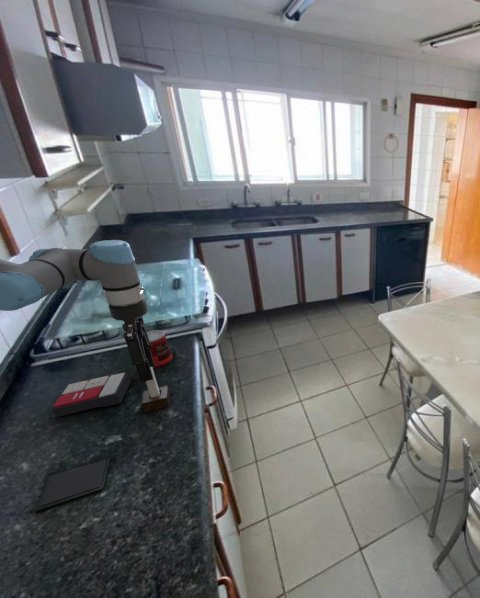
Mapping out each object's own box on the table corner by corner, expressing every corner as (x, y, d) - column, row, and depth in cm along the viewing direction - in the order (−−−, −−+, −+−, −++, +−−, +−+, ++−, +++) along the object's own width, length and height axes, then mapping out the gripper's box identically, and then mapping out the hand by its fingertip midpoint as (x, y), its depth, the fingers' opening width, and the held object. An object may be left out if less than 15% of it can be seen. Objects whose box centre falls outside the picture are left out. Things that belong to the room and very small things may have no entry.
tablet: (35, 513, 69) (34, 510, 69) (50, 478, 76) (48, 475, 76) (103, 491, 74) (102, 488, 74) (111, 460, 81) (109, 457, 81)
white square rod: (153, 407, 98) (142, 372, 92) (154, 403, 99) (143, 368, 94) (162, 405, 99) (151, 370, 93) (162, 401, 100) (152, 366, 95)
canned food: (148, 358, 118) (138, 332, 113) (174, 353, 122) (165, 327, 117) (144, 370, 112) (133, 344, 107) (172, 364, 116) (162, 338, 111)
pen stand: (144, 414, 95) (141, 403, 93) (147, 401, 100) (143, 390, 98) (169, 407, 98) (166, 397, 96) (170, 395, 103) (167, 385, 101)
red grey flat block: (67, 383, 99) (126, 370, 104) (73, 394, 101) (131, 380, 106) (48, 408, 90) (114, 392, 95) (56, 419, 92) (120, 403, 97)
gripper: (140, 313, 79) (161, 389, 89) (148, 286, 93) (165, 354, 103) (100, 319, 76) (126, 397, 85) (114, 289, 90) (135, 359, 99)
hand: (148, 373), depth 94 cm, fingers open, 5 cm apart
